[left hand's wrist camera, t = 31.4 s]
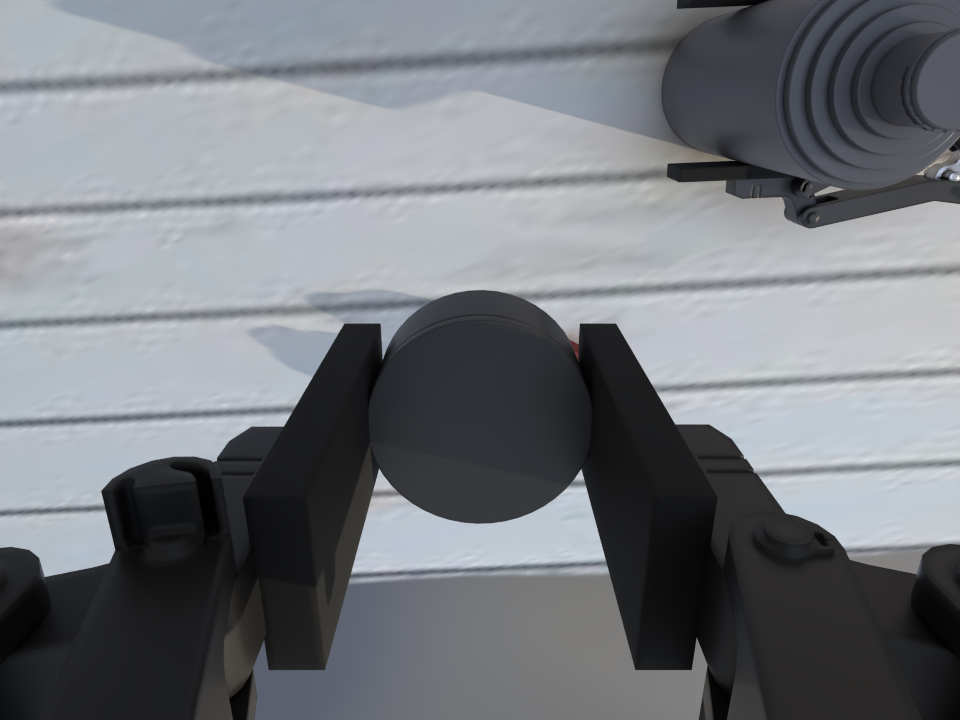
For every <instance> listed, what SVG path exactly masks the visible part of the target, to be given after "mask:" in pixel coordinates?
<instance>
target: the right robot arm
mask: <svg viewBox="0 0 960 720" xmlns="http://www.w3.org/2000/svg"><path fill="white" fill-rule="evenodd" d="M766 1H769V0H677V9H682V8H704V7H726V6H749V5H756V4H759V3H763V2H766ZM949 150H950V151H951V152H952V154H951V156H950V158H949V159H948V160H946V161H945V162H943V163H937V164H934V165H932V166H931V167H929V168H927V169H926V170H925V172H924V175H914V176H912V177H910V178H908V179H905V180H903V181H901V182H899V183H896V184H893V185H889V186H886V187H882V188H876V189H871V190H850V189H846V190H841V191H837V192H832V193H828V194H824V195H819V196H815V195H814V193H816V192H818V191H820V190H822V189H825V188H827V187H829V186H830V185H826V184H822V183H819V182H815V181H811V180H807V179H804V178H800V177H796V176H792V175H789V174H785V173H781V172H777V171H774V170H770V169H766V168H762V167H759V166H755V165H751V164H747V163H744V162H740V161H721V162H698V163H674V164H668V168H667V177H669V178H671V179H673V180H675V181H678V182H698V181H722V180H727V182H726V192H727V193H729V194H732V195H734V196H737V197H739V198H742V199H744V198H768V197H782V198H783V200H784V203H785V207H786V208H785V210H784V215H785V217H786V219H787V220H790V221H792V222H794V223H796V224H799V225H801V226H804V227H807V228H815V227H820V226H824V225H829V224H833V223H838V222H842V221H846V220H851V219H855V218H860V217H864V216H869V215H873V214H878V213H882V212H887V211H891V210H895V209H900V208H904V207H909V206H913V205H918V204H922V203H927V202H931V201H940V202H948V203H956V204H960V137H959V138H958V139H957V141H956V142H955V143H954V144H953V145H952V146H951V147H950V148H949Z"/></svg>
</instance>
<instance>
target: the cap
mask: <svg viewBox="0 0 960 720" xmlns="http://www.w3.org/2000/svg"><path fill="white" fill-rule="evenodd" d="M368 416H369V431H370V445H371V451H372V454H373V456H374V459H375V461H376V463H377V465H378V467H379V468H380V470H381V472H382V473H383V475H384V476H385V478H386V479H387V480H388V481H389V483H390V484H391V485H392V486H393V487H394V488H395V489H396V490H397V491H398V492H399V493H400V494H401V495H402V496H403V497H405V498H406V499H407V500H409V501H410V502H411V503H413V504H414V505H416V506H418V507H419V508H421V509H423V510H425V511H427V512H429V513H431V514H434V515H436V516H439V517H442V518H445V519H449V520H453V521H458V522H464V523H476V524H479V523H496V522H503V521H508V520H512V519H515V518H519V517H522V516H524V515H527V514H529V513H532V512H534V511H536V510H538V509H540V508H541V507H543V506H545V505H546V504H548V503H549V502H551V501H552V500H554V499H555V498H556V497H557V496H558V495H560V494H561V493H562V492H563V491H564V490H565V489H566V488H567V487H568V486H569V485H570V483H571V482H572V481H573V480H574V479H575V477H576V476H577V474H578V473H579V471H580V470H581V468H582V466H583V464H584V462H585V460H586V458H587V456H588V453H589V449H590V438H591V423H592V400H591V396H590V393H589V389H588V387H587V384H586V381H585V378H584V376H583V373H582V370H581V367H580V365H579V362H578V359H577V356H576V354H575V351H574V349H573V347H572V344H571V342H570V341H569V339H568V337H567V336H566V334H565V332H564V331H563V330H562V329H561V327H560V326H559V325H558V324H557V323H556V321H555V320H553V319H552V318H551V317H550V316H549V315H548V314H547V313H546V312H544V311H543V310H541V309H540V308H539V307H537V306H536V305H534V304H532V303H530V302H528V301H526V300H524V299H522V298H519V297H516V296H513V295H511V294H506V293H502V292H497V291H487V290H474V291H464V292H458V293H454V294H451V295H447V296H444V297H441V298H439V299H437V300H435V301H432V302H430V303H429V304H427V305H425V306H424V307H422V308H420V309H419V310H418V311H416V312H415V313H414V314H413V315H412V316H410V317H409V318H408V319H407V320H406V321H405V322H404V323H403V324H402V326H401V327H400V328H399V329H398V331H397V332H396V334H395V335H394V336H393V338H392V340H391V342H390V344H389V346H388V348H387V350H386V353H385V356H384V358H383V361H382V364H381V367H380V369H379V372H378V375H377V378H376V380H375V383H374V386H373V389H372V392H371V395H370V398H369V403H368Z"/></svg>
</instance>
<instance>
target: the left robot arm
mask: <svg viewBox="0 0 960 720" xmlns="http://www.w3.org/2000/svg"><path fill="white" fill-rule="evenodd" d="M382 361H383V359H382V342H381V324H344V325H343V327H342V329H341V330H340V332H339V334H338V336H337V337H336V339H335V341H334V342H333V344H332V346H331V348H330V349H329V351H328V353H327V354H326V356H325V358H324V359H323V361H322V363H321V365H320V366H319V368H318V370H317V371H316V373H315V375H314V377H313V378H312V380H311V382H310V383H309V385H308V387H307V388H306V390H305V392H304V394H303V395H302V397H301V399H300V400H299V402H298V404H297V405H296V407H295V409H294V411H293V412H292V414H291V416H290V417H289V419H288V421H287V423H286V424H285V426H284V427H251V428H249V429H247V430H246V431H244V432H243V433H241V434H240V435H238V436H237V437H235V438H233V439H232V440H230V441H229V442H228V444H227V445H226V446H225V448H224V449H223V451H222V452H221V453H220V455H219V456H218V458H217V461H215V462H214V463H213V462H212V461H211V460H206V459H202V458H198V457H170V458H165V459H160V460H154V461H150V462H147V463H144V464H142V465H139V466H136V467H133V468H130V469H129V470H127V471H125V472H123V473H122V474H120V475H118V476H117V477H115V478H113V479H112V480H111V481H110V482H109V483H108V484H107V485H106V486H105V487H104V489H103V490H102V491H101V492H102V496H103V500H104V504H105V508H106V513H107V517H108V521H109V525H110V529H111V533H112V538H113V542H114V546H115V552H114V555H113V557H112V559H111V561H110V563H109V564H105V565H101V566H97V567H93V568H88V569H83V570H78V571H73V572H68V573H63V574H58V575H53V576H48V577H44V573H43V570H42V567H41V563H40V560H39V558H38V557H37V556H36V555H35V554H33V553H32V552H31V551H30V550H26V549H20V548H14V547H6V548H0V720H255V711H256V702H257V691H256V685H255V679H254V672H253V666H254V664H255V661H256V659H257V656H258V653H259V651H260V648H261V646H262V643H263V641H265V648H266V654H267V661H268V668H269V670H325V668H326V664H327V660H328V657H329V653H330V649H331V645H332V642H333V638H334V634H335V631H336V627H337V623H338V619H339V616H340V612H341V608H342V604H343V601H344V597H345V593H346V590H347V586H348V582H349V578H350V575H351V571H352V567H353V564H354V560H355V556H356V552H357V549H358V545H359V541H360V537H361V534H362V530H363V526H364V523H365V519H366V515H367V511H368V508H369V504H370V500H371V496H372V493H373V489H374V485H375V482H376V478H377V474H378V470H379V467H378V465H377V463H376V461H375V459H374V456H373V454H372V451H371V445H370V431H369V416H368V403H369V398H370V395H371V392H372V389H373V386H374V383H375V380H376V378H377V375H378V372H379V369H380V367H381V364H382ZM578 362H579V365H580V367H581V370H582V373H583V376H584V378H585V381H586V384H587V387H588V389H589V393H590V396H591V400H592V423H591V438H590V449H589V453H588V456H587V458H586V460H585V462H584V464H583V466H582V468H581V469H582V473H583V476H584V480H585V484H586V487H587V491H588V495H589V499H590V502H591V506H592V510H593V514H594V517H595V521H596V525H597V528H598V532H599V536H600V540H601V543H602V547H603V551H604V554H605V558H606V562H607V566H608V569H609V573H610V577H611V581H612V584H613V588H614V592H615V595H616V599H617V603H618V607H619V610H620V614H621V618H622V621H623V625H624V629H625V633H626V636H627V640H628V644H629V648H630V651H631V655H632V659H633V662H634V666H635V669H636V670H692V664H693V657H694V651H695V644H696V638H697V639H698V641H699V644H700V646H701V649H702V651H703V654H704V656H705V659H706V662H707V664H708V666H707V673H706V679H705V685H704V691H703V697H702V703H701V709H700V716H699V720H960V545H955V544H948V545H942V546H936V547H932V548H931V549H929V550H928V551H927V552H926V553H924V554H923V555H922V558H921V562H920V565H919V569H918V572H917V574H912V573H907V572H902V571H897V570H892V569H887V568H882V567H877V566H871V565H867V564H863V563H859V562H855V561H852V560H849V558H848V556H847V553H846V551H845V549H844V548H843V547H842V545H841V544H840V543H839V541H838V540H837V539H836V538H835V536H833V535H832V534H830V533H829V532H828V531H826V530H825V529H823V528H822V527H820V526H819V525H817V524H815V523H812V522H810V521H808V520H805V519H803V518H800V517H798V516H794V515H789V514H786V513H785V512H784V511H783V509H782V508H781V506H780V505H779V504H778V502H777V501H776V500H775V498H774V497H773V495H772V494H771V493H770V491H769V490H768V489H767V487H766V486H765V484H764V483H763V482H762V480H761V479H760V478H759V476H758V475H757V473H754V469H753V468H752V467H751V465H750V464H749V462H748V461H747V460H746V459H744V455H743V454H742V453H741V451H740V450H739V449H738V447H737V446H736V444H735V443H734V442H733V440H732V439H731V438H729V437H728V436H726V435H725V434H723V433H721V432H720V431H718V430H717V429H715V428H714V427H712V426H710V425H675V423H674V422H673V420H672V418H671V417H670V415H669V413H668V411H667V410H666V408H665V406H664V405H663V403H662V401H661V400H660V398H659V396H658V394H657V393H656V391H655V389H654V388H653V386H652V384H651V383H650V381H649V379H648V377H647V376H646V374H645V372H644V371H643V369H642V367H641V365H640V364H639V362H638V360H637V359H636V357H635V355H634V354H633V352H632V350H631V348H630V347H629V345H628V343H627V342H626V340H625V338H624V337H623V335H622V333H621V331H620V330H619V328H618V326H617V325H616V324H580V332H579V349H578Z"/></svg>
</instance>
